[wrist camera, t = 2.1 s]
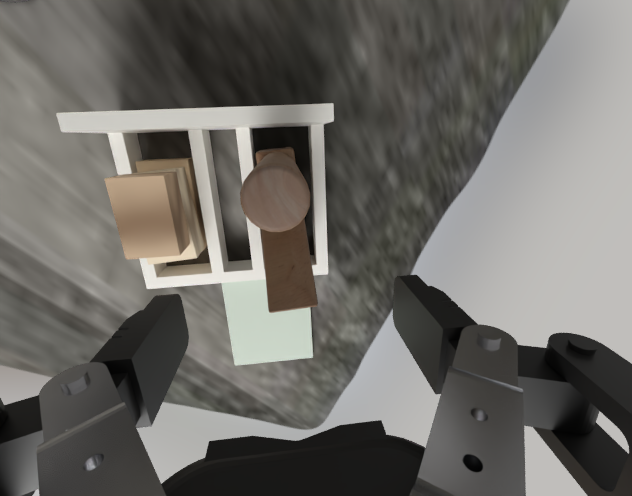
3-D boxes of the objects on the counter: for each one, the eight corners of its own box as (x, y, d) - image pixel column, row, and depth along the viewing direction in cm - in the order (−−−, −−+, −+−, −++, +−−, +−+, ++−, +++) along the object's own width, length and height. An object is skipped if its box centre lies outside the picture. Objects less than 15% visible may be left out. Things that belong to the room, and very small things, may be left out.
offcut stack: (146, 159, 31) (96, 167, 22) (197, 157, 31) (166, 164, 23) (165, 244, 34) (126, 280, 25) (211, 241, 34) (188, 275, 26)
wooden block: (273, 248, 35) (266, 349, 18) (257, 150, 32) (230, 164, 15) (305, 243, 36) (327, 339, 19) (293, 146, 32) (306, 155, 15)
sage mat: (222, 278, 36) (221, 280, 35) (308, 271, 37) (308, 273, 36) (235, 362, 40) (234, 365, 39) (312, 354, 41) (312, 357, 40)
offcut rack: (120, 120, 29) (56, 113, 21) (319, 112, 31) (333, 103, 23) (157, 276, 35) (118, 321, 26) (324, 263, 37) (337, 301, 28)
